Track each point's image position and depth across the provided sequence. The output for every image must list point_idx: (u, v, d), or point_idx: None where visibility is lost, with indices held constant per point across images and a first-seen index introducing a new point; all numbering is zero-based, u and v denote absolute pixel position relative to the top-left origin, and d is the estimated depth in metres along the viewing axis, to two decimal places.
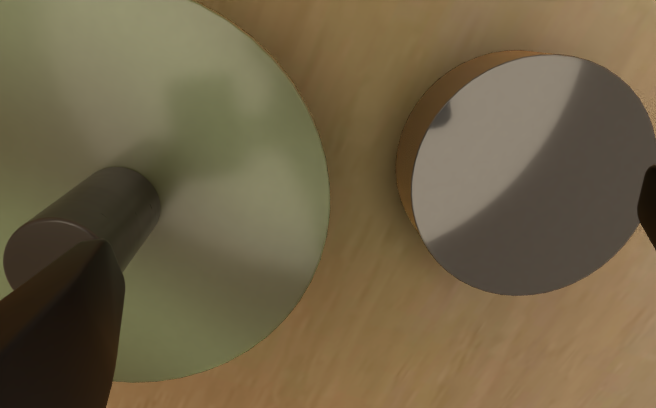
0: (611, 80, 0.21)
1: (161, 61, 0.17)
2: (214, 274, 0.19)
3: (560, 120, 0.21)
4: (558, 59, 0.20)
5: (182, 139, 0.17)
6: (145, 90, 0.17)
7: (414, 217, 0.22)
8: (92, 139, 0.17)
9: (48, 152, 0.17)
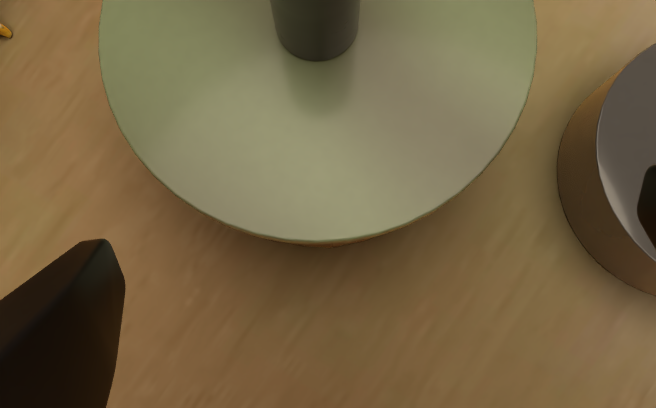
0: None
1: None
2: (392, 117, 0.17)
3: None
4: None
5: None
6: None
7: (597, 167, 0.19)
8: None
9: None
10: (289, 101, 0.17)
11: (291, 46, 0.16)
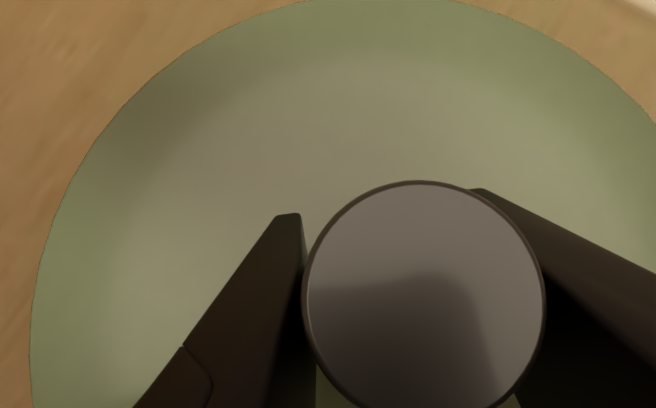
0: None
1: (507, 111, 0.11)
2: None
3: None
4: None
5: None
6: (473, 143, 0.11)
7: None
8: None
9: (300, 200, 0.11)
10: None
11: None
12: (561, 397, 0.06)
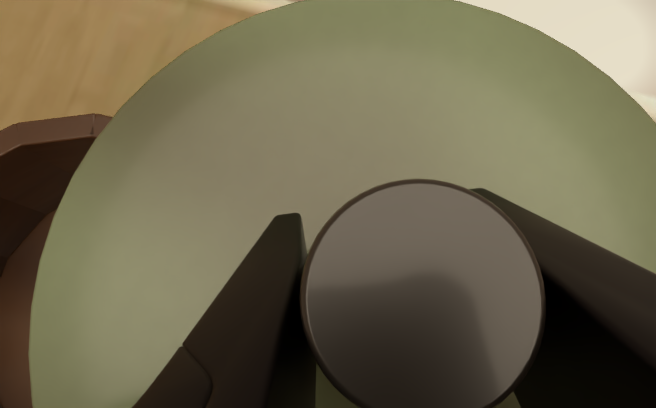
0: None
1: (507, 110, 0.11)
2: None
3: None
4: None
5: None
6: (473, 143, 0.11)
7: None
8: None
9: (300, 200, 0.11)
10: None
11: None
12: (561, 397, 0.06)
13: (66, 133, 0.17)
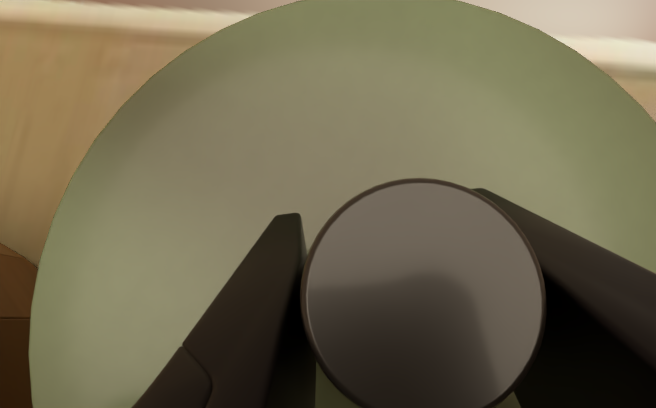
0: None
1: (507, 110, 0.11)
2: None
3: None
4: None
5: None
6: (473, 142, 0.11)
7: None
8: None
9: (300, 199, 0.11)
10: None
11: None
12: (561, 397, 0.06)
13: None
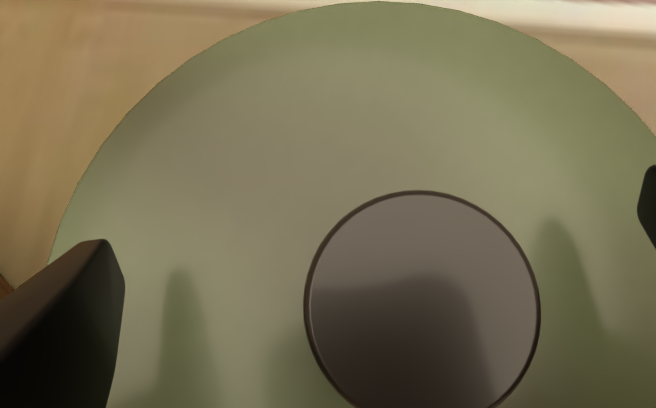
0: None
1: (505, 117, 0.12)
2: None
3: None
4: None
5: (508, 231, 0.11)
6: (472, 150, 0.11)
7: None
8: None
9: (302, 206, 0.11)
10: None
11: None
12: None
13: None
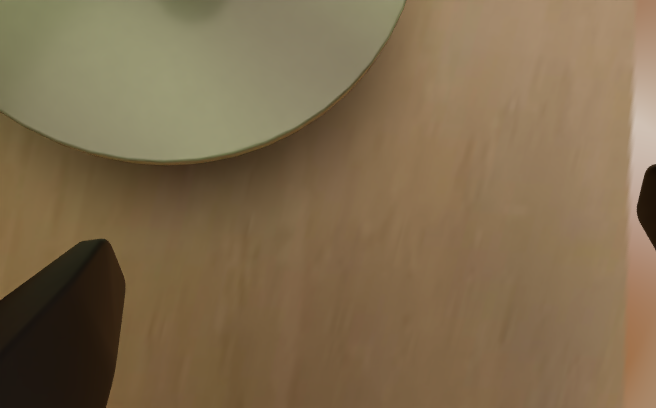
0: None
1: None
2: (252, 20, 0.14)
3: None
4: None
5: None
6: None
7: None
8: None
9: None
10: None
11: None
12: None
13: None
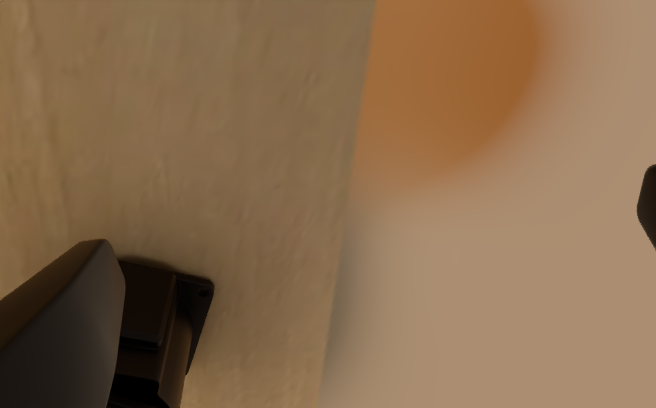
0: None
1: None
2: None
3: None
4: None
5: None
6: None
7: None
8: None
9: None
10: None
11: None
12: None
13: None
